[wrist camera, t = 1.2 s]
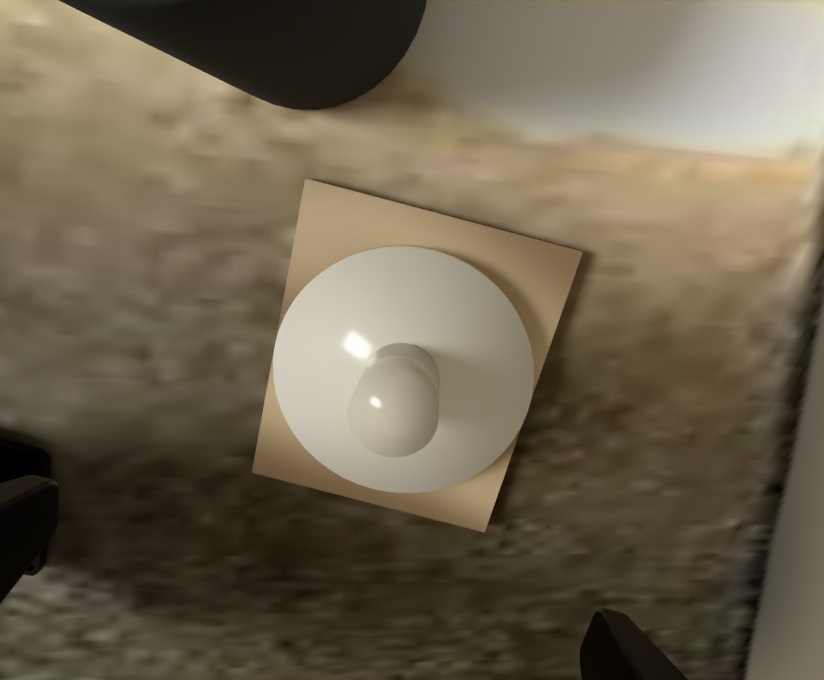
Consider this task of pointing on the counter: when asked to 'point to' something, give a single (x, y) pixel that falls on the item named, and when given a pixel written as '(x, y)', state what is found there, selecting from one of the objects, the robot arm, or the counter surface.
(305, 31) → the mug
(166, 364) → the counter surface
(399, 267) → the lid
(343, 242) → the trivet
